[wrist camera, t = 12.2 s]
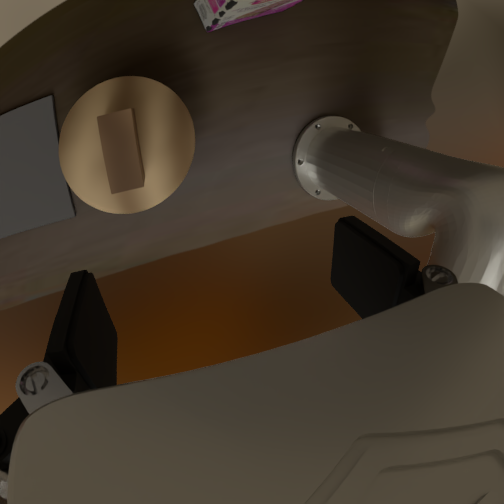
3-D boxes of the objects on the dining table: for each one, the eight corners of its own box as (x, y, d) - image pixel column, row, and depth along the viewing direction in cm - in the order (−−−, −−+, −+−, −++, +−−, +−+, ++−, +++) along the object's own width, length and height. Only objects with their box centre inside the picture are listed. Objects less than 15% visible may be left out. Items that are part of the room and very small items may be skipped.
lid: (186, 66, 25) (192, 58, 20) (201, 195, 31) (210, 211, 27) (52, 97, 21) (34, 97, 17) (78, 223, 28) (68, 243, 24)
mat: (53, 95, 26) (51, 95, 25) (76, 215, 34) (75, 216, 33) (-39, 136, 22) (-41, 137, 21) (-13, 241, 30) (-14, 243, 29)
